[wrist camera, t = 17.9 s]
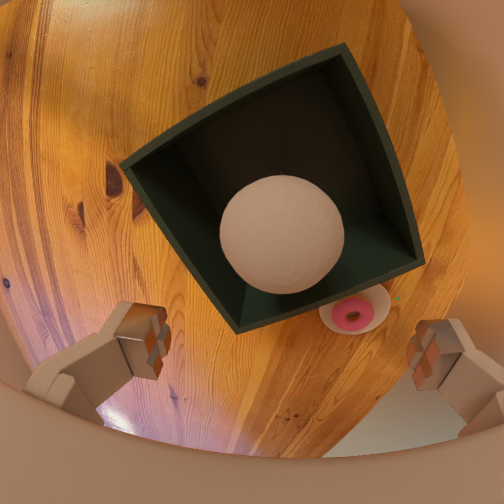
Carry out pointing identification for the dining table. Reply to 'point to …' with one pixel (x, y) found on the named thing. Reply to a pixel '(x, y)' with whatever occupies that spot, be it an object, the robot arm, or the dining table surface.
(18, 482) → the robot arm
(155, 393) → the dining table surface
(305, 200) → the lollipop
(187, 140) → the bin
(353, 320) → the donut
